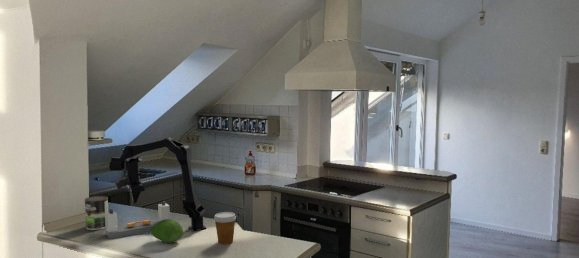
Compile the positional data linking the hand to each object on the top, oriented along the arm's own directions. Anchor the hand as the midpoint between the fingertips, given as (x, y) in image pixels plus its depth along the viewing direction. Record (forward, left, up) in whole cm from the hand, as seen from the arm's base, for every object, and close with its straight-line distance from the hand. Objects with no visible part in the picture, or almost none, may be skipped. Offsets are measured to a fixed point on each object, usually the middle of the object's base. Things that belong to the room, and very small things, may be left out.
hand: (134, 203), depth 220 cm
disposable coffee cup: (-44, -27, -12) cm, 53 cm away
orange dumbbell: (-7, 0, -9) cm, 12 cm away
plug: (-7, -12, -9) cm, 16 cm away
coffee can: (+11, +15, -12) cm, 22 cm away
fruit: (-29, -6, -12) cm, 32 cm away
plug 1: (-7, +12, -9) cm, 17 cm away
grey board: (-7, 0, -12) cm, 14 cm away
